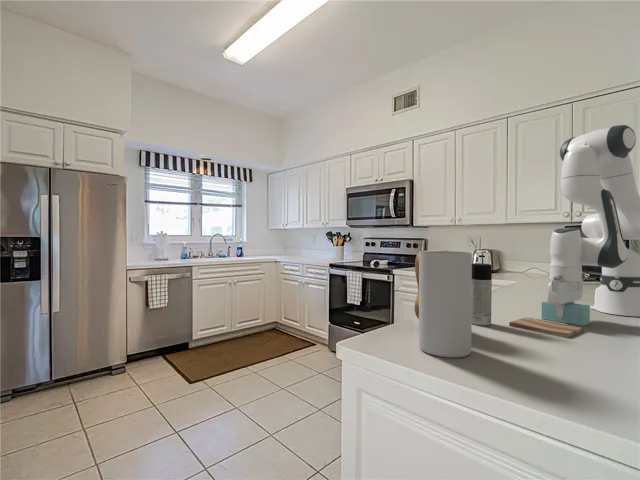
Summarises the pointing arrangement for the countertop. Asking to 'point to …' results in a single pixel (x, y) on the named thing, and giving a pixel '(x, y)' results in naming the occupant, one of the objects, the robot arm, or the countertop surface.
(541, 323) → the board
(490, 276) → the spray can
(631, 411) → the countertop surface
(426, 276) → the cylinder vase
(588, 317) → the pale blue tall prism
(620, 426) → the countertop surface
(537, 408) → the countertop surface
